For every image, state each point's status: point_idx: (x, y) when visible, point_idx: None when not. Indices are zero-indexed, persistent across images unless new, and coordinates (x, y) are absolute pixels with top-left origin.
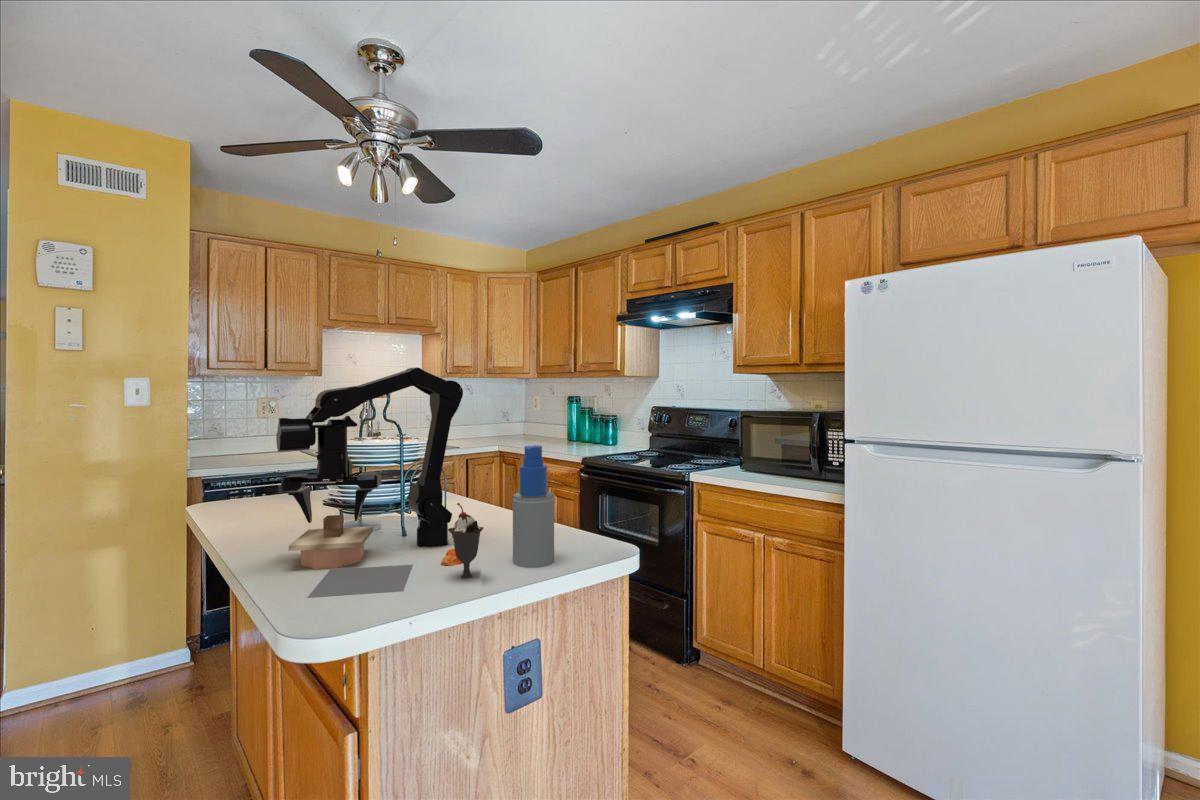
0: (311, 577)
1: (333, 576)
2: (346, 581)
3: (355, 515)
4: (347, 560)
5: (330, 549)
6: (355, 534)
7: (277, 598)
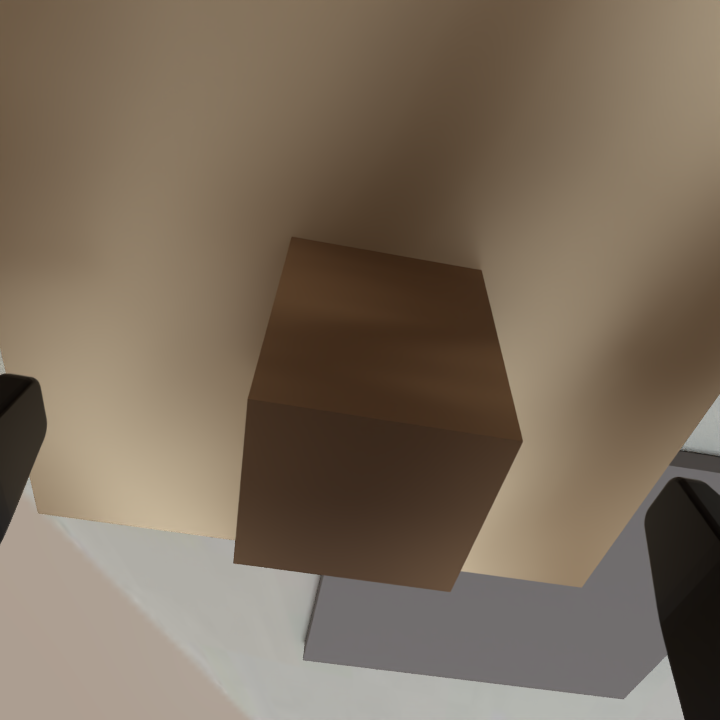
0: None
1: None
2: None
3: (670, 615)
4: None
5: None
6: (600, 369)
7: (186, 591)
